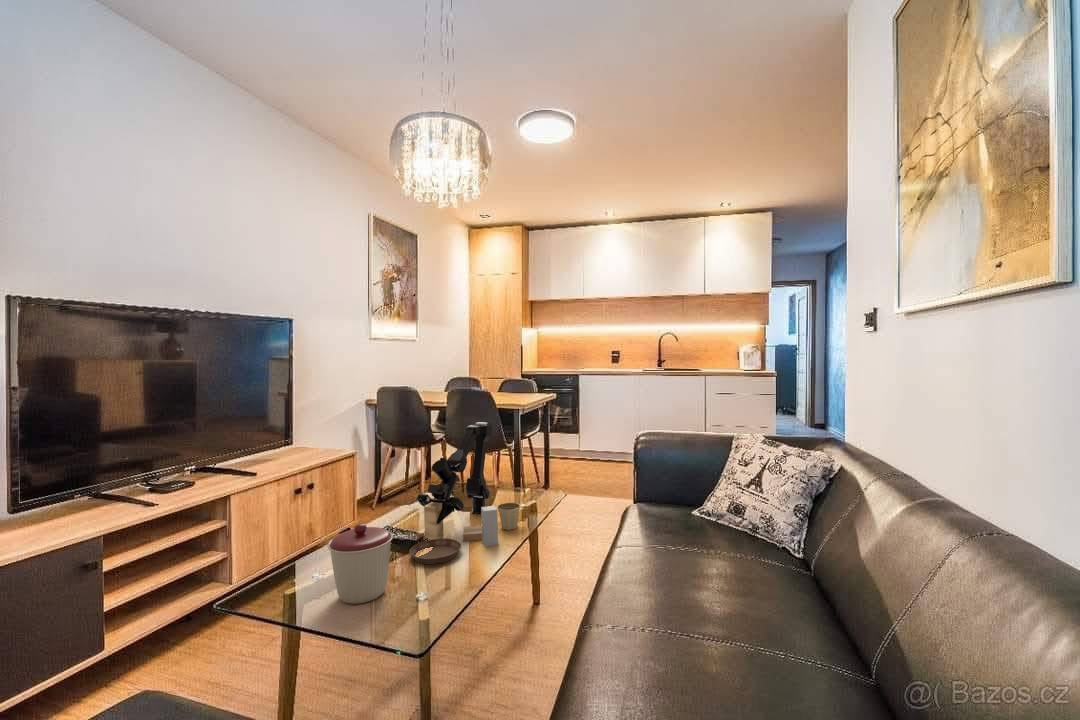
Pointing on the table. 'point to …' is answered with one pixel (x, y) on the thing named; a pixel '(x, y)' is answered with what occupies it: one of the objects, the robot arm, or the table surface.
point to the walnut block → (472, 533)
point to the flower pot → (509, 515)
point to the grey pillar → (489, 526)
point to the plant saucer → (436, 550)
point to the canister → (361, 563)
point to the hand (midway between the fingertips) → (431, 522)
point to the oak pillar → (433, 521)
